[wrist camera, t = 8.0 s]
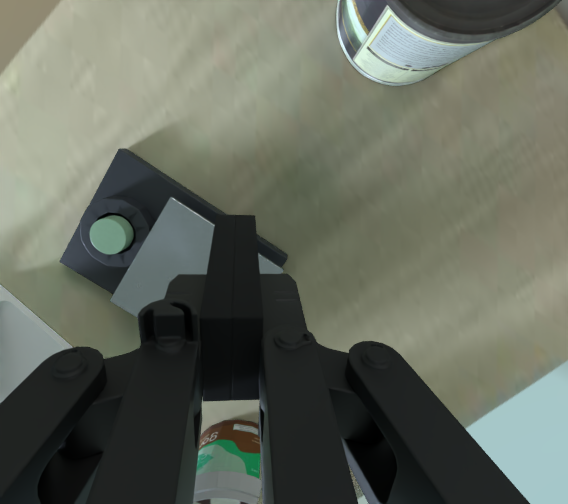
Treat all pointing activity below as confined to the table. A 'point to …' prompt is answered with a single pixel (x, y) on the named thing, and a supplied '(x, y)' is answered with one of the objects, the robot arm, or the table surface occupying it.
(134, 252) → the scale
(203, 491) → the food container
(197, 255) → the pan
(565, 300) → the table surface
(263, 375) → the robot arm
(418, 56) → the coffee can
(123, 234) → the button
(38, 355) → the tablet stand
